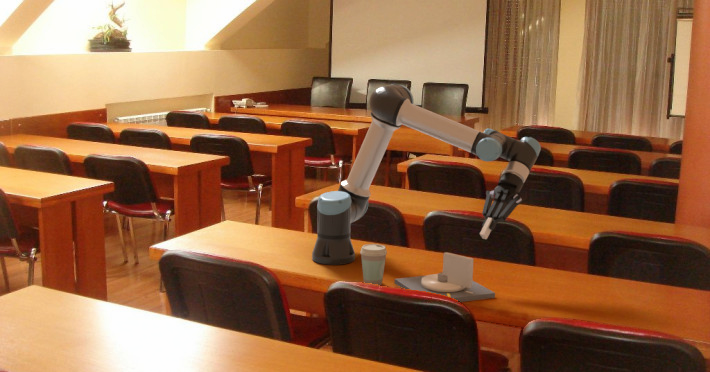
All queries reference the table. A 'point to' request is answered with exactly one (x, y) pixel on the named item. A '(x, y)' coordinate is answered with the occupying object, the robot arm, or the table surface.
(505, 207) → the robot arm
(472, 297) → the dial plate
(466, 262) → the dial
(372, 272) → the coffee cup
